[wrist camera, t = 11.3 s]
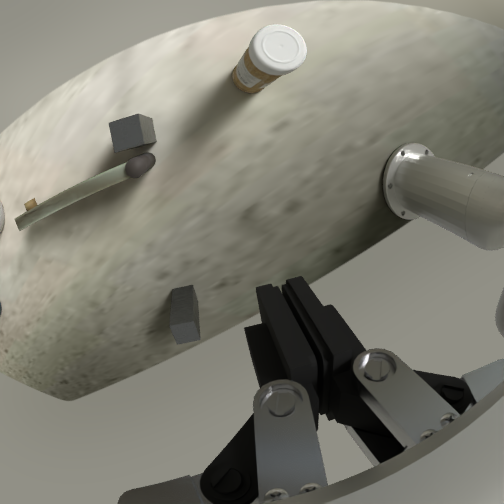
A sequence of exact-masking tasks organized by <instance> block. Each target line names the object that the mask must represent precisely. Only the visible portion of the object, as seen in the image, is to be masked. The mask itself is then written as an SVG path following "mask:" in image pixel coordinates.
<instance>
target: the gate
mask: <svg viewBox="0 0 504 504" xmlns="http://www.w3.org/2000/svg"><path fill="white" fill-rule="evenodd" d="M155 161H156V159H155V156H154V155H153V154H152V153H144V154H141V155H139V156H136V157H134V158H131V159H129V160H128V161H127V162H126V163H124V164H121V165H119V166H117V167H114V168H112V169H110V170H107V171H105V172H103V173H101V174H98V175H96V176H94V177H92V178H90V179H88V180H86V181H83V182H81V183H79V184H77V185H75V186H73V187H71V188H69V189H67V190H65V191H63V192H61V193H59V194H58V195H56V196H54V197H52V198H50V199H48V200H46V201H44V202H43V203H41V204H39V205H37V203H36V201H35V198H34V199H32V200H30V201H28V202H27V203H25V204H24V205H25V207H26V210H27V212H25V213H24V214H22V215H20V216H19V217H17V218H15V221H16V224H17V226H18V229H19V231H21V230H23V229H25V228H26V227H28V226H30V225H32V224H33V223H35V222H37V221H39V220H41V219H43V218H45V217H47V216H48V215H50V214H52V213H54V212H56V211H58V210H60V209H62V208H64V207H66V206H68V205H70V204H72V203H74V202H76V201H79V200H81V199H83V198H85V197H87V196H89V195H92V194H94V193H96V192H98V191H101V190H103V189H105V188H107V187H110V186H112V185H114V184H117V183H119V182H122V181H124V180H127V179H129V178H138V177H140V176H141V175H143V174H144V173H145V172H146V171H148V170H149V169H150V168H152V167H153V166H154V164H155Z"/></svg>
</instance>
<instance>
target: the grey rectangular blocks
mask: <svg viewBox="0 0 504 504" xmlns="http://www.w3.org/2000/svg"><path fill="white" fill-rule="evenodd" d="M109 127H110V132H111V137H112V142H113V147H114V152H115V153H116V152H120V151H123V150H128V149H132V148H135V147H139V146H142V145H146V144H150V143H153V142H157V141H156V136H155V131H154V126H153V121H152V118H149V117H147V116H144V115H141V114H135V115H132V116H129V117H126V118H122V119H119V120H116V121H113V122H110V123H109ZM169 326H170V329H171V331H172V333H173V336H174V338H175V340H176V343H177V344H182V343H187V342H192V341H197V340H200V326H199V310H198V300H197V297H196V294H195V290H194V287H193V285H189V286H185V287H180V288H176V289H173V290H172V301H171V312H170V325H169Z"/></svg>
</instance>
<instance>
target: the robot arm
mask: <svg viewBox="0 0 504 504" xmlns="http://www.w3.org/2000/svg"><path fill="white" fill-rule="evenodd" d="M383 191H384V196H385V200H386V202H387V204H388V206H389V208H390V209H391V211H392V212H393V213H395V214H396V215H397V216H399V217H401V218H403V219H407V220H412V219H417V218H419V217H423V218H425V219H427V220H429V221H431V222H433V223H435V224H437V225H439V226H440V227H442V228H444V229H446V230H448V231H450V232H452V233H454V234H456V235H457V236H459V237H461V238H463V239H465V240H467V241H468V242H470V243H472V244H474V245H476V246H477V247H479V248H481V249H484V250H498V249H501V248H504V176H501V175H499V174H496V173H492V172H489V171H486V170H483V169H479V168H476V167H472V166H469V165H465V164H461V163H458V162H454V161H450V160H446V159H442V158H437V157H434V155H433V153H432V152H431V151H430V150H429V149H428V148H427V147H425V146H424V145H421V144H417V143H407V144H404V145H402V146H400V147H399V148H398V149H396V150H395V151H394V152H393V154H392V155H391V157H390V158H389V160H388V162H387V165H386V168H385V171H384V177H383ZM256 293H257V298H258V304H259V310H260V314H261V321H262V323H261V324H257V325H253V326H249V327H245V328H244V329H245V334H246V338H247V342H248V346H249V350H250V354H251V358H252V362H253V365H254V369H255V373H256V376H257V380H258V383H259V386H260V389H259V390H258V391H257V393H256V394H255V396H254V401H253V411H254V413H253V414H252V415H251V417H250V418H249V419H248V421H247V422H246V423H245V424H244V426H243V427H242V428H241V429H240V430H239V431H238V433H237V434H236V435H235V436H234V437H233V439H232V440H231V441H230V442H229V443H228V445H227V446H226V447H225V448H224V449H223V450H222V452H220V454H219V455H218V456H217V457H216V458H215V459H214V460H213V462H212V463H211V464H210V465H209V466H208V467H207V468H206V469H205V471H204V472H203V473H201V474H198V475H195V476H192V477H191V476H190V475H187V476H184V477H180V478H177V479H173V480H170V481H166V482H162V483H158V484H154V485H149V486H145V487H141V488H136V489H131V490H129V491H126V492H124V493H123V494H122V495H121V496H120V498H119V500H118V504H504V359H500V360H497V361H495V362H493V363H490V364H488V365H486V366H484V367H481V368H479V369H477V370H474V371H471V372H469V373H467V374H464V375H462V377H461V378H460V379H459V378H456V377H451V376H444V375H439V374H433V373H427V372H422V371H416V370H412V369H411V368H410V367H409V366H408V365H407V364H405V363H404V362H403V361H402V360H401V359H400V358H399V357H398V356H397V355H395V354H394V353H393V352H391V351H388V350H385V349H379V348H375V349H369V350H367V351H366V349H365V348H364V347H363V345H362V344H361V343H360V341H359V340H358V338H357V337H356V336H355V334H354V333H353V332H352V330H351V329H350V328H349V326H348V325H347V323H346V322H345V321H344V319H343V318H342V317H341V315H340V314H339V313H338V311H337V310H336V309H335V308H334V306H333V305H327V306H323V305H322V304H321V302H320V301H319V299H318V298H317V297H316V295H315V294H314V293H313V291H312V290H311V289H310V287H309V285H308V284H307V283H306V281H305V280H304V278H303V277H302V276H299V277H295V278H291V279H287V280H286V284H284V285H282V293H281V291H280V289H279V287H278V286H276V287H273V286H272V284H267V285H263V286H259V287H256ZM495 320H496V325H497V328H498V330H499V332H500V334H501V335H502V336H503V337H504V288H503V291H502V294H501V296H500V299H499V302H498V305H497V309H496V316H495ZM319 413H320V415H323V414H326V416H327V418H328V420H329V421H330V420H333V419H335V420H336V421H337V423H341V424H344V426H345V428H346V430H347V431H348V433H349V434H350V435H351V437H352V438H353V440H354V441H355V442H356V443H357V445H358V446H359V447H360V449H361V450H362V451H363V453H364V454H365V455H366V457H367V458H368V459H369V461H370V462H371V463H372V464H373V466H374V467H373V468H371V469H368V470H366V471H364V472H362V473H359V474H357V475H355V476H352V477H349V478H347V479H344V480H342V481H339V482H337V483H334V484H331V485H328V483H327V478H326V474H325V469H324V464H323V459H322V455H321V450H320V445H319V441H318V436H317V430H318V419H319Z"/></svg>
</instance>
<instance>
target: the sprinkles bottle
mask: <svg viewBox="0 0 504 504" xmlns="http://www.w3.org/2000/svg"><path fill="white" fill-rule="evenodd" d="M306 54H307V48H306V44H305V41H304V39H303V38H302V36H301V35H300V34H299V33H298V32H297V31H295V30H294V29H292V28H290V27H288V26H285V25H280V24H273V25H268V26H265V27H263V28H262V29H260V30H259V31H258V32H257V33H256V34H255V35H254V37H253V38H252V40H251V42H250V44H249V47H248V49H247V50H246V51H245V53H244V54H243V56H242V57H241V59H240V61H239V62H238V65H237V66H236V67H235V68H234V70H233V74H232V77H233V81H234V84H235V85H236V86H237V87H238V88H239V89H240V90H242V91H244V92H248V93H255V92H258V91H260V90H262V89H264V88H265V87H266V86H268V85H269V84H271V83H272V82H274V81H275V80H276V79H277V78H279V77H280V76H282V75H285V74H288V73H290V72H292V71H294V70H295V69H297V68H298V67H299V66H300V65H301V64H302V63H303V62H304V60H305V58H306Z"/></svg>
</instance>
